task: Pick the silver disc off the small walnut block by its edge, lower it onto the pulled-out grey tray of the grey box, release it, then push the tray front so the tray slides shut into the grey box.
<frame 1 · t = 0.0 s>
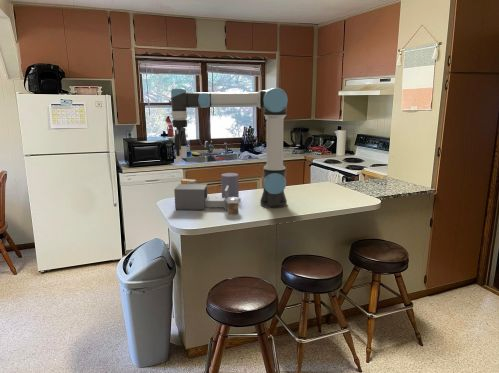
hand: (181, 160, 199), 28 cm above the table, fingers open, 13 cm apart
tray: (214, 197, 210), point 6 cm above the table, slide at 11.0 cm
grey box: (191, 207, 212), on the table
supplement box: (189, 201, 225), on the table
container: (230, 199, 230), on the table
disc: (233, 201, 201), point 6 cm above the table, touching walnut block
walnut block: (233, 212, 202), on the table
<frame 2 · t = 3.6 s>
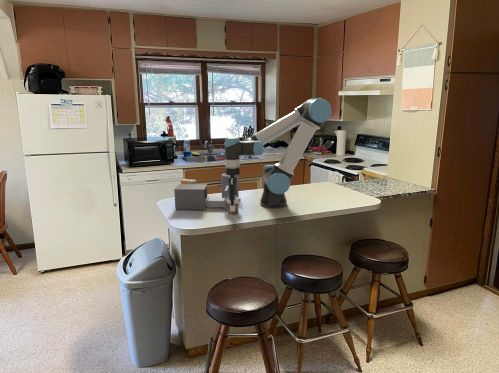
hand: (233, 208, 202), 2 cm above the table, fingers closed on disc, 8 cm apart
disc: (233, 201, 201), point 6 cm above the table, touching gripper, walnut block
everything else where it was.
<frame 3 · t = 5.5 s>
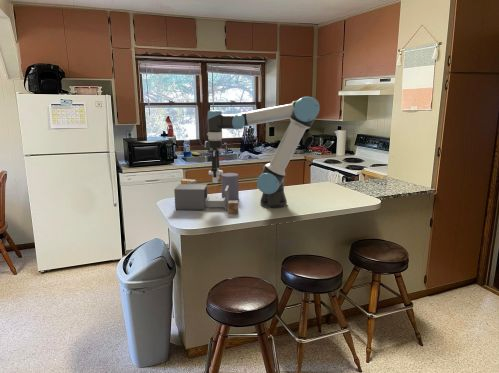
hand: (216, 181, 208), 15 cm above the table, fingers closed on disc, 8 cm apart
disc: (215, 174, 207), point 19 cm above the table, touching gripper
everything else where it was.
when the fingers open (2 cm above the table, at t = 7.9 s): disc drops 1 cm, resting on tray.
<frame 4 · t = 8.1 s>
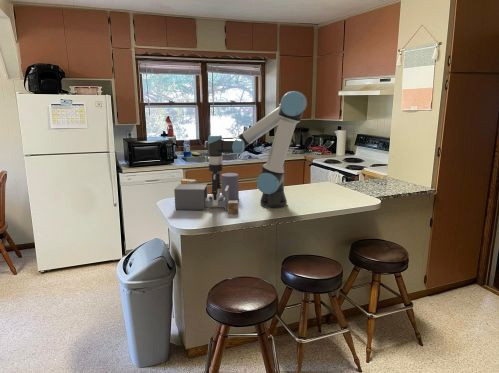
hand: (216, 202, 211), 3 cm above the table, fingers open, 10 cm apart
tray: (214, 197, 210), point 6 cm above the table, slide at 11.0 cm, touching disc
disc: (216, 199, 210), point 5 cm above the table, touching tray
everything else where it was.
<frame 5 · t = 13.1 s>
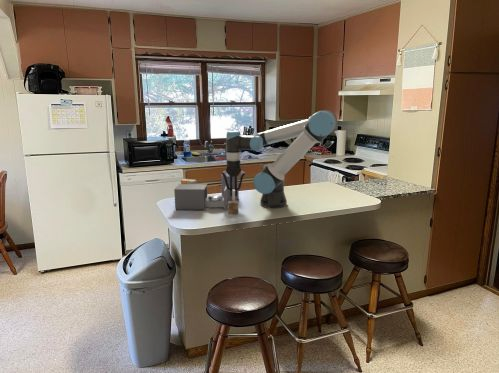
hand: (233, 201, 210), 4 cm above the table, fingers closed
tray: (213, 197, 210), point 6 cm above the table, slide at 10.5 cm, touching disc, hand
everything else where it was.
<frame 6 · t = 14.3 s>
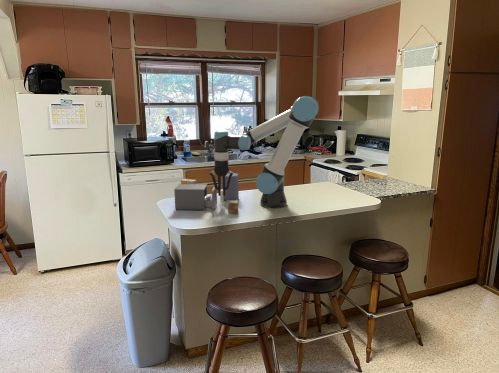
hand: (222, 201, 210), 4 cm above the table, fingers closed
tray: (201, 197, 210), point 6 cm above the table, slide at 4.0 cm, touching disc, gripper
disc: (203, 199, 210), point 5 cm above the table, touching tray
everything else where it was.
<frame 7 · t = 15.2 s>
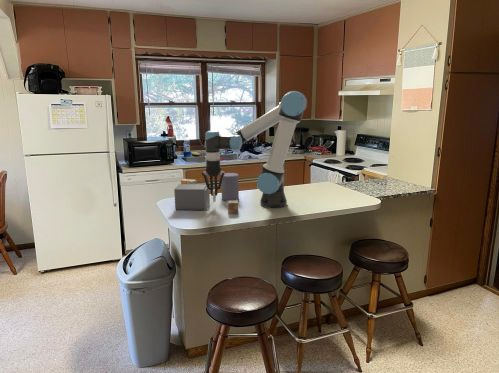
hand: (214, 201, 211), 4 cm above the table, fingers closed
tray: (194, 197, 210), point 6 cm above the table, slide at -0.2 cm, touching disc, gripper, hand
disc: (196, 199, 211), point 5 cm above the table, touching tray
everything else where it was.
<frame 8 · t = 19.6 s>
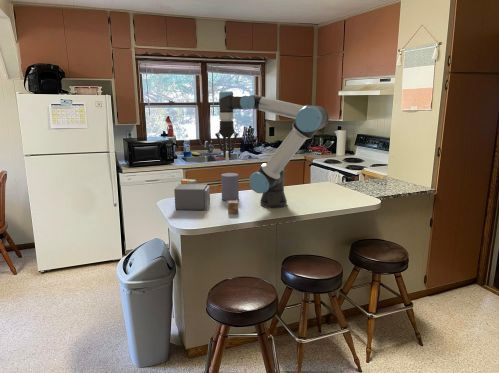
hand: (227, 163, 210), 24 cm above the table, fingers closed
tray: (194, 197, 210), point 6 cm above the table, slide at 0.0 cm, touching disc
everything else where it was.
at the end: tray slide at 0.0 cm; disc inside the target area on the grey box (2.0 cm from its centre), point 4.8 cm above the grey box's base; the gripper is holding nothing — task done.
